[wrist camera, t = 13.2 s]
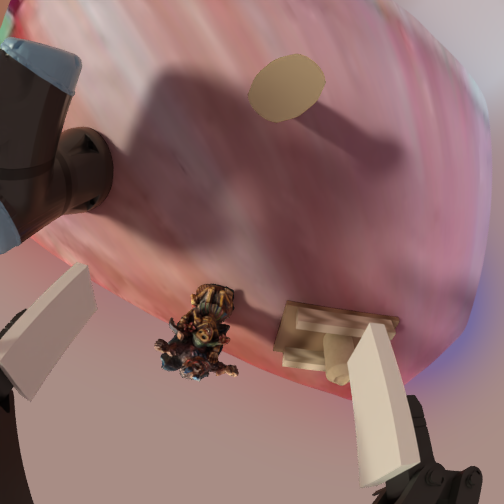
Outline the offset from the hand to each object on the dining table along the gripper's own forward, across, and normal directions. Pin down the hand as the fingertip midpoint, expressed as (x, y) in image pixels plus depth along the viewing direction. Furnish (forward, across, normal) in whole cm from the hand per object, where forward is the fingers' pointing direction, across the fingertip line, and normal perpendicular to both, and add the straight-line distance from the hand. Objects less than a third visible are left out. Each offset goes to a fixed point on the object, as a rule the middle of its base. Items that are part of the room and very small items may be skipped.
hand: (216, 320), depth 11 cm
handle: (+29, +1, +11) cm, 31 cm away
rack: (+29, +18, -26) cm, 43 cm away
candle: (+28, +18, -26) cm, 42 cm away
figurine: (+29, -5, -22) cm, 37 cm away
